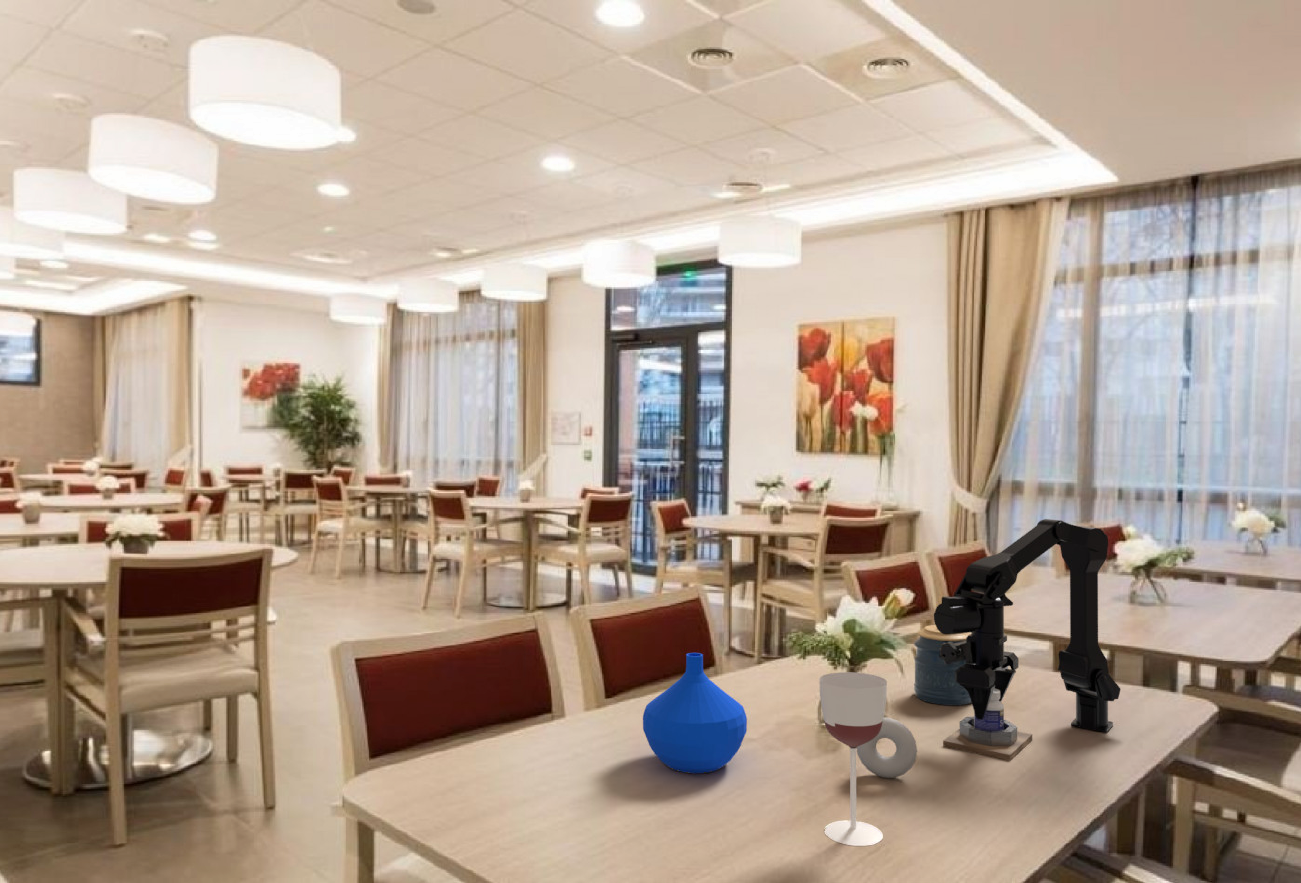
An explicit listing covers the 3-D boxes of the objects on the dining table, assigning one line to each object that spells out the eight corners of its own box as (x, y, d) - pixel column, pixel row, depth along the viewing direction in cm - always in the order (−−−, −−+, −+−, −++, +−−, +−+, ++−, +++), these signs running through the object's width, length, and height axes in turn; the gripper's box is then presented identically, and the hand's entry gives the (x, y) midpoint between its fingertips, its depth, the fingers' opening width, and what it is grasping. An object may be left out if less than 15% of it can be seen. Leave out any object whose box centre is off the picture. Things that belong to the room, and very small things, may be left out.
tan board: (968, 727, 172) (968, 721, 172) (1032, 739, 165) (1032, 734, 165) (943, 745, 161) (943, 740, 161) (1010, 760, 154) (1010, 754, 154)
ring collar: (971, 726, 169) (971, 713, 169) (1021, 736, 164) (1021, 722, 164) (954, 738, 162) (954, 725, 162) (1006, 749, 156) (1006, 735, 156)
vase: (760, 754, 157) (760, 648, 157) (726, 790, 140) (725, 672, 140) (668, 740, 165) (667, 639, 165) (624, 773, 148) (624, 661, 148)
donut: (917, 777, 146) (917, 717, 146) (916, 784, 143) (916, 724, 143) (857, 770, 149) (856, 711, 149) (854, 777, 146) (854, 717, 146)
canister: (984, 706, 186) (984, 624, 186) (924, 706, 186) (923, 624, 186) (963, 689, 199) (963, 612, 199) (907, 689, 199) (906, 612, 199)
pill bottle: (1006, 742, 160) (1006, 694, 160) (976, 740, 161) (976, 692, 161) (1000, 733, 165) (1000, 687, 165) (971, 731, 166) (971, 685, 166)
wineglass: (812, 821, 129) (812, 673, 129) (875, 818, 130) (874, 671, 130) (829, 848, 120) (829, 689, 120) (896, 845, 121) (896, 687, 121)
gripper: (961, 617, 175) (961, 694, 175) (926, 632, 161) (927, 717, 161) (1019, 624, 168) (1019, 704, 168) (988, 641, 154) (988, 729, 154)
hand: (987, 713), depth 163 cm, fingers open, 9 cm apart
